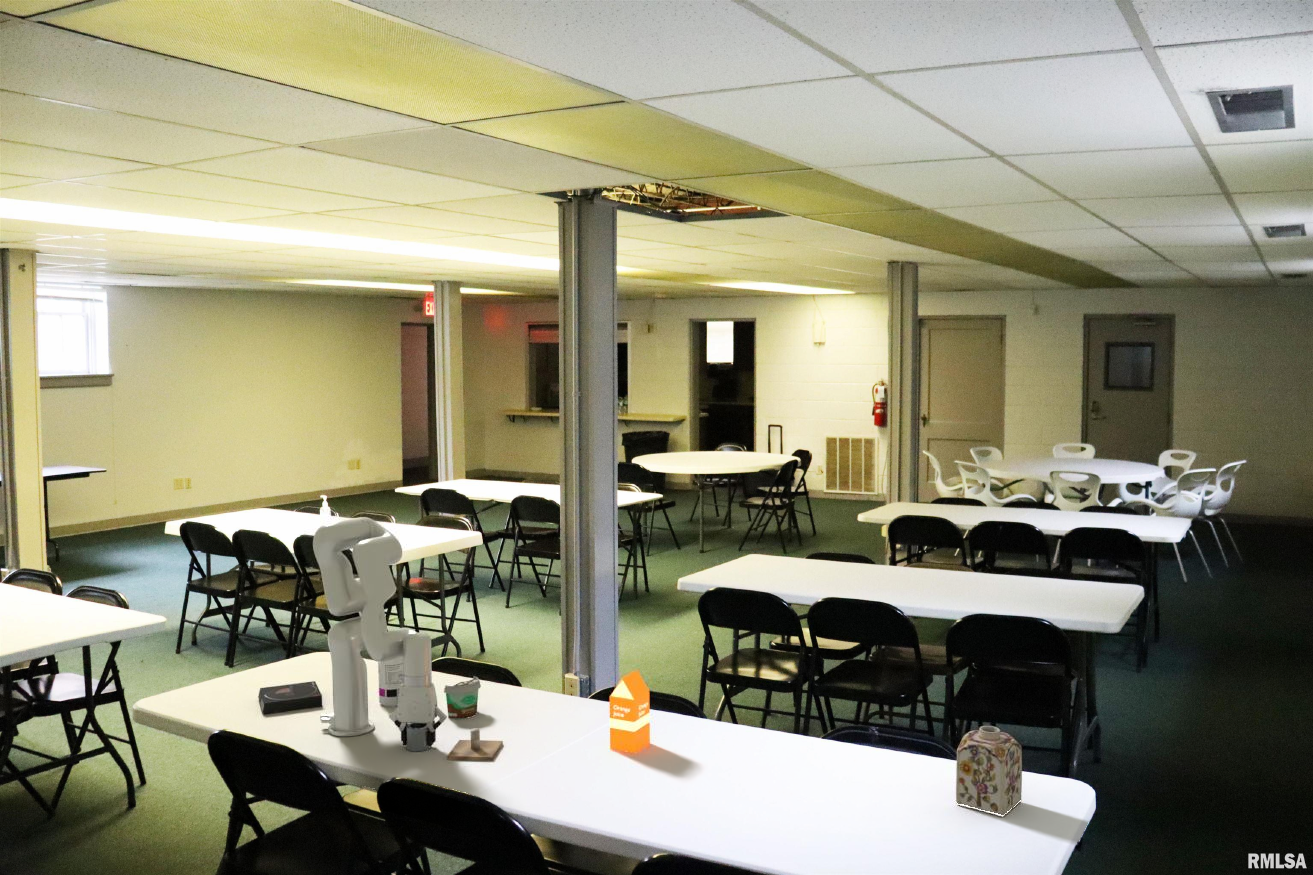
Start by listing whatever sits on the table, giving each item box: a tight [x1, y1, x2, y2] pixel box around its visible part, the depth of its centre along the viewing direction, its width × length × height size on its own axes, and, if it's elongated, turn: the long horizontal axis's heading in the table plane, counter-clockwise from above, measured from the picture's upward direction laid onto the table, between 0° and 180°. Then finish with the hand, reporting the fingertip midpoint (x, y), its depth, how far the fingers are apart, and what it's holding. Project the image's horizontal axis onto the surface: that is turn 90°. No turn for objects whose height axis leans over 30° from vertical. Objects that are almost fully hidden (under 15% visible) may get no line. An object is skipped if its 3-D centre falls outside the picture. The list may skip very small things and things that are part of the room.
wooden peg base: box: [446, 728, 504, 762], centre depth 284 cm, size 12×12×6 cm
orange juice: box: [609, 669, 651, 754], centre depth 287 cm, size 8×9×20 cm
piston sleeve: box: [405, 723, 432, 752], centre depth 288 cm, size 6×6×6 cm
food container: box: [443, 675, 482, 720], centre depth 314 cm, size 12×6×10 cm, turn 143°
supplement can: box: [377, 656, 403, 708], centre depth 326 cm, size 8×8×15 cm
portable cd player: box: [257, 680, 323, 716], centre depth 327 cm, size 16×17×4 cm
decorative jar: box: [955, 725, 1023, 815], centre depth 248 cm, size 12×12×18 cm
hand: (418, 743), depth 288 cm, fingers closed on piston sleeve, 6 cm apart
